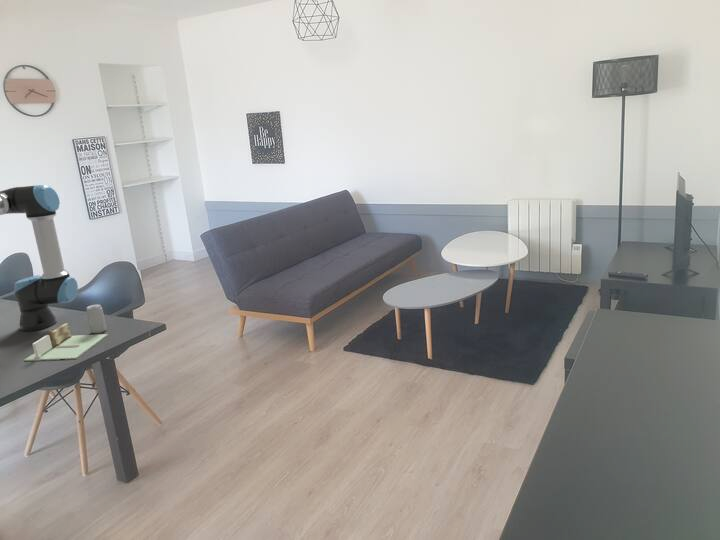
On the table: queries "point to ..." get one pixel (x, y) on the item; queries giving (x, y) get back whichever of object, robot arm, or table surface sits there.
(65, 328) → the fence fixed
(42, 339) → the panel
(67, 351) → the card
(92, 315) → the beverage can
